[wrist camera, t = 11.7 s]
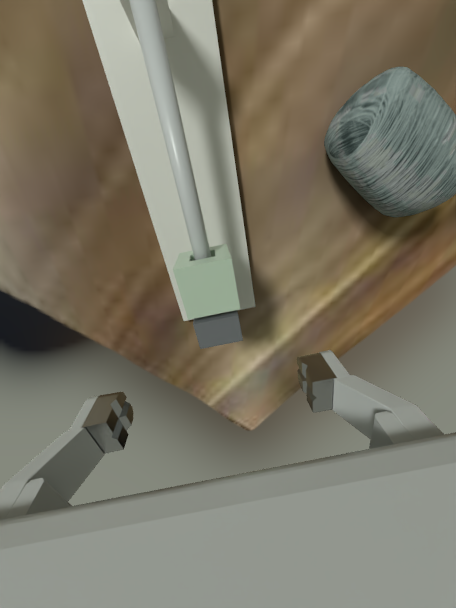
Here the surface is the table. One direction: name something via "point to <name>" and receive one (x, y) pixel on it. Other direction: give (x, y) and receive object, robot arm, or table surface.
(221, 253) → the sleeve
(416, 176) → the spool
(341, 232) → the table surface
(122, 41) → the stand
